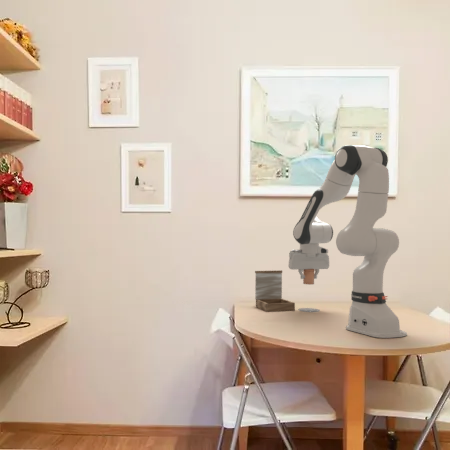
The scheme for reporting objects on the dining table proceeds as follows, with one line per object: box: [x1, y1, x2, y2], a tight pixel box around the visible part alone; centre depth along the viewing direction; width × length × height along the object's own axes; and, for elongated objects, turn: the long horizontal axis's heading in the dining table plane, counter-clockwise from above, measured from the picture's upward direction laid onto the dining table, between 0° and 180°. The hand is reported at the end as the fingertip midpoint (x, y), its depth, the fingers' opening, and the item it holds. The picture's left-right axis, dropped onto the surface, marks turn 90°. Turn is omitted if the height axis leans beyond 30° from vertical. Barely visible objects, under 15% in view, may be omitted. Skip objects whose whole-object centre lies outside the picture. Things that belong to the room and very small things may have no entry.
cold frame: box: [254, 270, 296, 313], centre depth 199 cm, size 15×14×18 cm
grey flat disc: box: [298, 307, 321, 313], centre depth 195 cm, size 10×10×1 cm
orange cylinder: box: [302, 269, 315, 285], centre depth 196 cm, size 5×5×7 cm
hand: (308, 278), depth 196 cm, fingers closed on orange cylinder, 5 cm apart
